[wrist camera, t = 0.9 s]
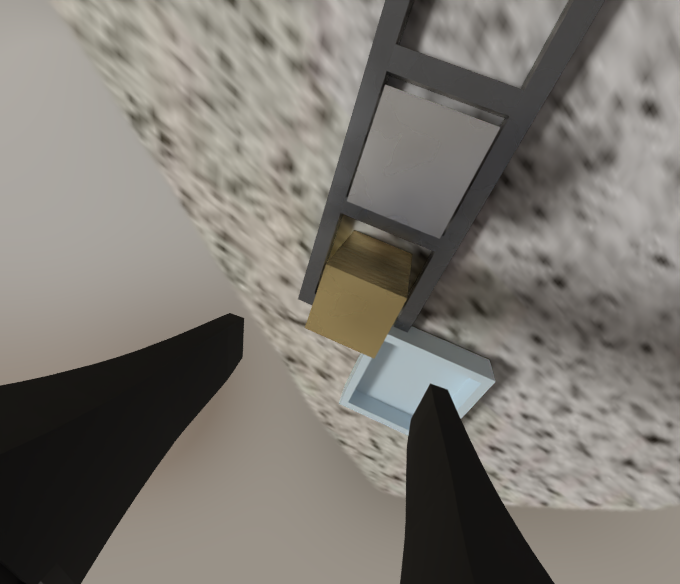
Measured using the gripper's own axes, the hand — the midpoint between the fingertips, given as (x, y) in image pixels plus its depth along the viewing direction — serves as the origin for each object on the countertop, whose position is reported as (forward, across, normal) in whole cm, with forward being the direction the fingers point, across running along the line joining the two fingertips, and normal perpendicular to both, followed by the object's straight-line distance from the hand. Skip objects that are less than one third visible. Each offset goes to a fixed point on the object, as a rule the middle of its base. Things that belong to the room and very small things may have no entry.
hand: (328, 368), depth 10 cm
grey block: (+10, -1, -7) cm, 12 cm away
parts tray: (+10, -5, +8) cm, 13 cm away
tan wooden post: (+10, 0, 0) cm, 10 cm away
